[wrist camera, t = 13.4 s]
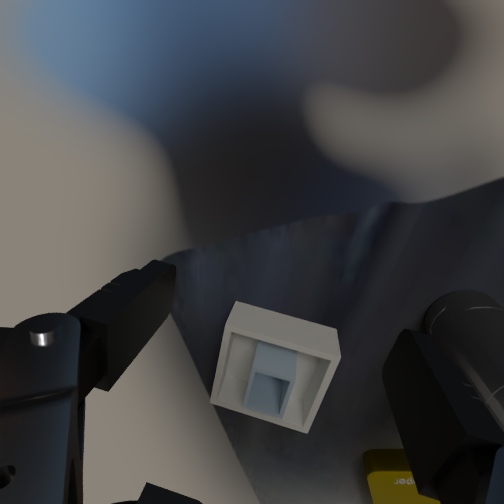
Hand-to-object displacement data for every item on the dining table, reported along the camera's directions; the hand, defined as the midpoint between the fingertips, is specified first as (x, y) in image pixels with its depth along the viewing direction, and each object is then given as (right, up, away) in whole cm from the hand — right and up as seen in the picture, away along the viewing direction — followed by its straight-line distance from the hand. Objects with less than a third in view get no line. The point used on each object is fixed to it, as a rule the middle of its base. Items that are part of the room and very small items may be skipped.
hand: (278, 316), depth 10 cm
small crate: (+3, -15, +35) cm, 38 cm away
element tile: (+28, -39, +41) cm, 63 cm away
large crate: (+3, -15, +36) cm, 39 cm away
